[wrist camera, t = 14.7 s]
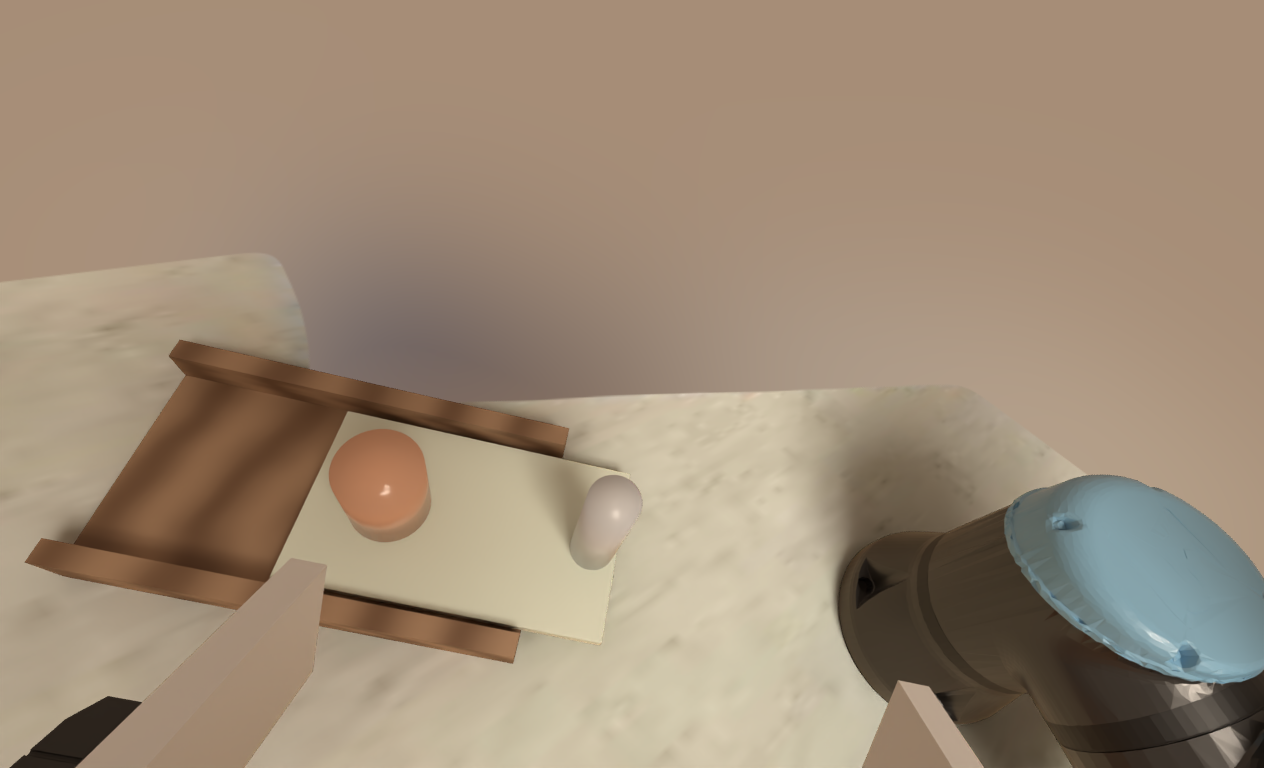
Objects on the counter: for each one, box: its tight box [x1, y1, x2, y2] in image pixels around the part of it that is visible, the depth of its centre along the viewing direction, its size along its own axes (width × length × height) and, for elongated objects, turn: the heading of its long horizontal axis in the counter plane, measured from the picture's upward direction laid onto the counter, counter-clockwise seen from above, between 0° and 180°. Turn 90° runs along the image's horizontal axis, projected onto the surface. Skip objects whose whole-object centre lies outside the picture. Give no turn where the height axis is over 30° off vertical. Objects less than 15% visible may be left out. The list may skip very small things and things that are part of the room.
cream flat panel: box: [270, 411, 642, 645], centre depth 42 cm, size 24×14×12 cm, turn 81°
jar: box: [329, 429, 431, 542], centre depth 43 cm, size 6×6×7 cm
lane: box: [25, 340, 569, 663], centre depth 46 cm, size 32×18×4 cm, turn 81°
